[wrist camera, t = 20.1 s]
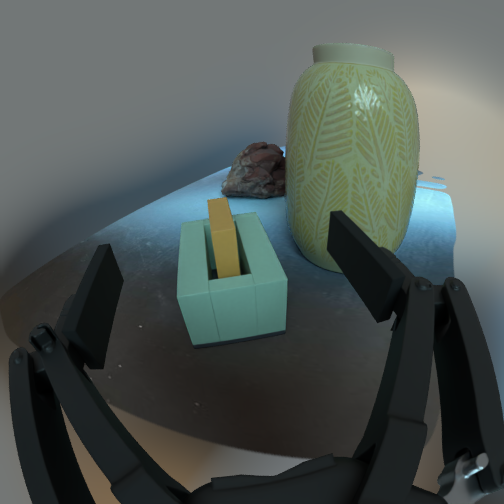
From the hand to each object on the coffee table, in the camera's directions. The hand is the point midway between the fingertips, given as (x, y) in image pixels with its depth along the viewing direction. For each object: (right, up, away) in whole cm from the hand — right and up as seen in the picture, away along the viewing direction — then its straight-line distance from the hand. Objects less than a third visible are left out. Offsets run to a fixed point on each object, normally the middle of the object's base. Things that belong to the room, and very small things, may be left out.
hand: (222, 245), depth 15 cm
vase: (+15, 0, +22) cm, 27 cm away
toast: (-1, -5, +15) cm, 16 cm away
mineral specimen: (+3, +11, +39) cm, 41 cm away
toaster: (-1, -5, +15) cm, 16 cm away
